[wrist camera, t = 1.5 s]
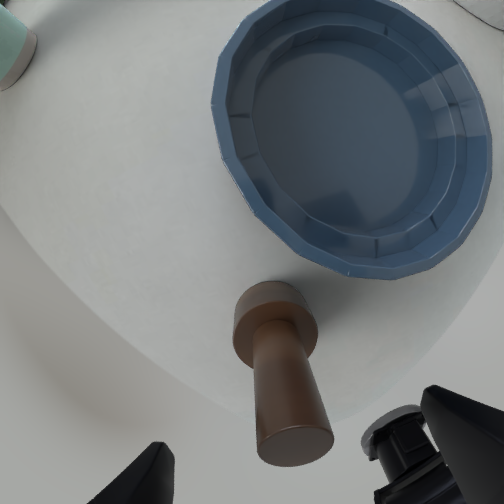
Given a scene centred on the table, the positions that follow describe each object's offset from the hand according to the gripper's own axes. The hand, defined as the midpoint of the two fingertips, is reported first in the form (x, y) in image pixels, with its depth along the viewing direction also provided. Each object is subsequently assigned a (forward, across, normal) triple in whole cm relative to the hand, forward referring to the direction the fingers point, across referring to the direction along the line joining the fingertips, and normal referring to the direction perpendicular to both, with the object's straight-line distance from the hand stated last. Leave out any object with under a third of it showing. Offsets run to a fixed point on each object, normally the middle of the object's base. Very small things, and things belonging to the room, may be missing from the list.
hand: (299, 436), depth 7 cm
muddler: (+10, 0, 0) cm, 10 cm away
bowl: (+10, -7, -10) cm, 15 cm away
